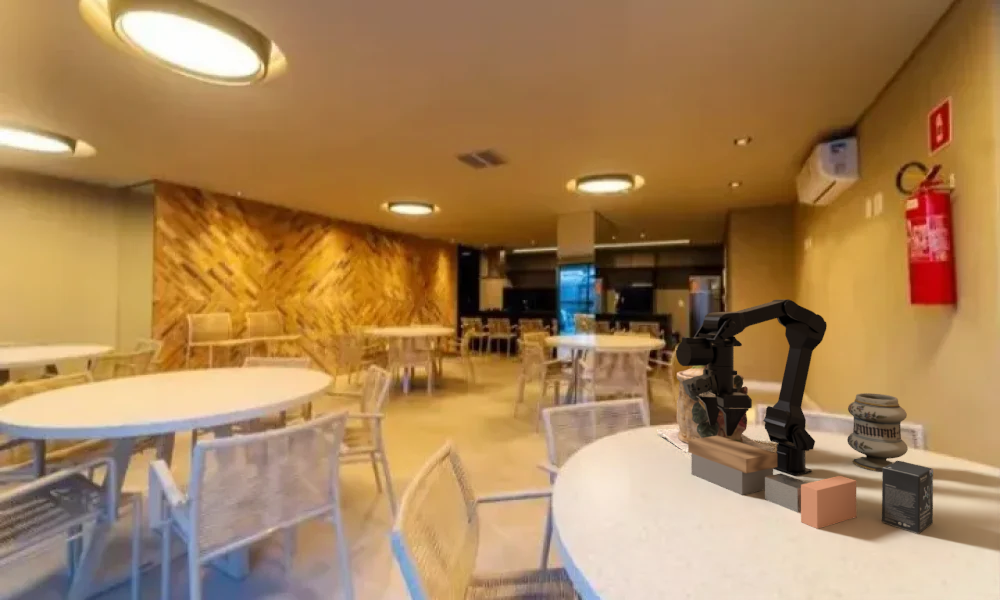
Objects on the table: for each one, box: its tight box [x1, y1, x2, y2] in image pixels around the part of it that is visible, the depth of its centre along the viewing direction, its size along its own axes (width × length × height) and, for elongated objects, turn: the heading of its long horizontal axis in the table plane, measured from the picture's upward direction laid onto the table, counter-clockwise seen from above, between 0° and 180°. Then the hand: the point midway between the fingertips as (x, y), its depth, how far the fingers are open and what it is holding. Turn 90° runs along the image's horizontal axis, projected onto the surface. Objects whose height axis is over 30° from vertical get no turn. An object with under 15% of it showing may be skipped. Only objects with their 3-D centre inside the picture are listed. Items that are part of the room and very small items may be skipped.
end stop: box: [800, 475, 857, 530], centre depth 91 cm, size 12×3×7 cm, turn 114°
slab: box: [688, 436, 777, 473], centre depth 111 cm, size 10×16×3 cm, turn 24°
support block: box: [764, 473, 808, 514], centre depth 98 cm, size 5×7×5 cm
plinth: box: [691, 454, 774, 496], centre depth 111 cm, size 10×14×5 cm
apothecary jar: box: [846, 392, 909, 472], centre depth 122 cm, size 12×12×18 cm
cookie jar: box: [656, 365, 775, 457], centre depth 141 cm, size 25×25×32 cm
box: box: [881, 460, 934, 534], centre depth 90 cm, size 8×6×11 cm
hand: (720, 430), depth 113 cm, fingers open, 9 cm apart
